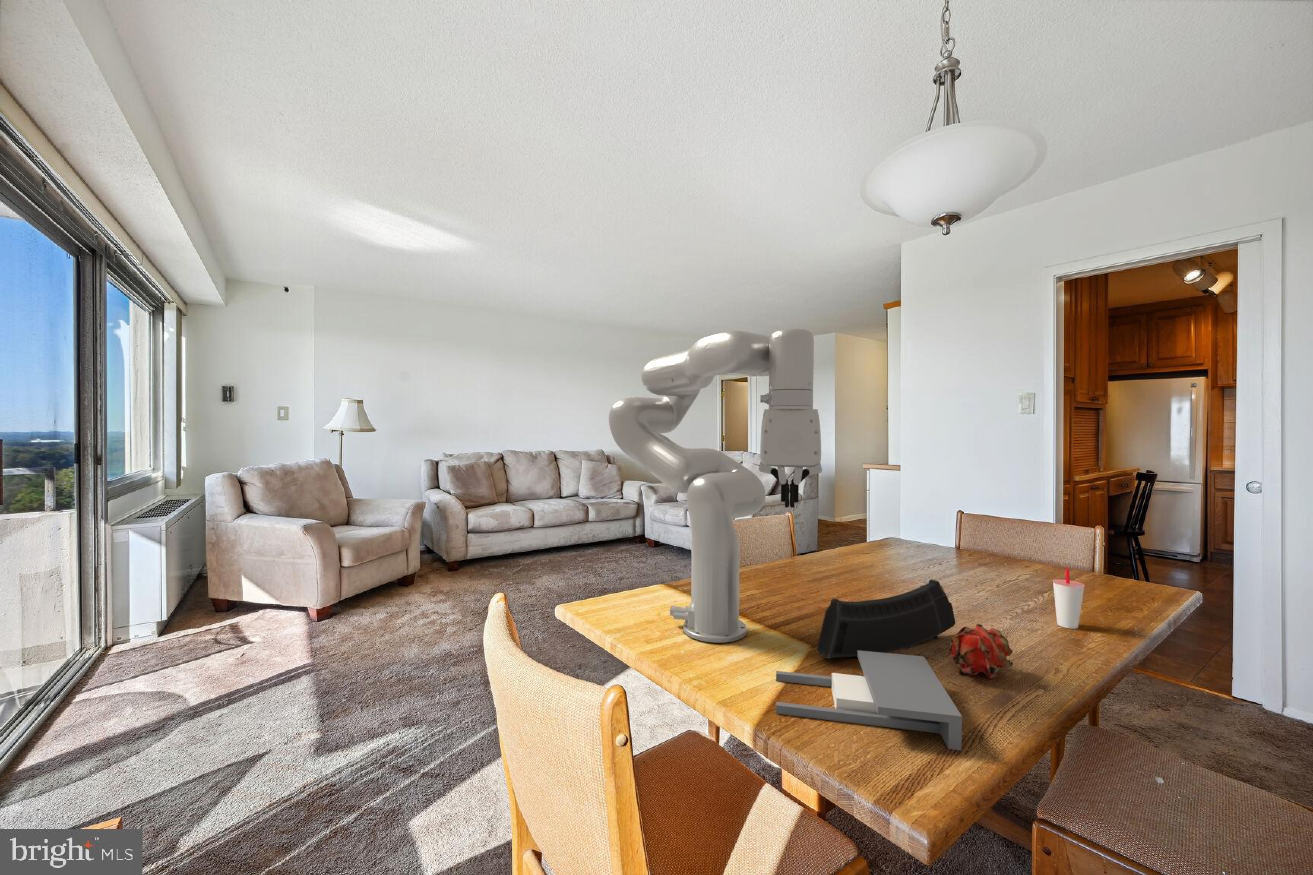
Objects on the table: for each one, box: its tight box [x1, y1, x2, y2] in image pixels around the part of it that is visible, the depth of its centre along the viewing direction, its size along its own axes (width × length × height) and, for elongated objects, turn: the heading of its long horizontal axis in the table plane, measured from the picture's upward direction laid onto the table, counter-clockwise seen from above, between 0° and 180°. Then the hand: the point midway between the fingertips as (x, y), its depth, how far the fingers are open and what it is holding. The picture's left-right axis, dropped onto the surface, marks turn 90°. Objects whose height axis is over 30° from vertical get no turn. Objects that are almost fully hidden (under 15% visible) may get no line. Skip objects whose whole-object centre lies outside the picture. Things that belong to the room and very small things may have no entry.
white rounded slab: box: [831, 672, 878, 714], centre depth 78 cm, size 11×8×2 cm
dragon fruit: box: [948, 623, 1014, 680], centre depth 89 cm, size 8×8×12 cm
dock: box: [775, 650, 963, 751], centre depth 79 cm, size 23×18×4 cm
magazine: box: [816, 579, 956, 660], centre depth 99 cm, size 18×3×31 cm
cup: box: [1052, 568, 1086, 630], centre depth 110 cm, size 5×5×12 cm
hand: (789, 506), depth 93 cm, fingers closed
